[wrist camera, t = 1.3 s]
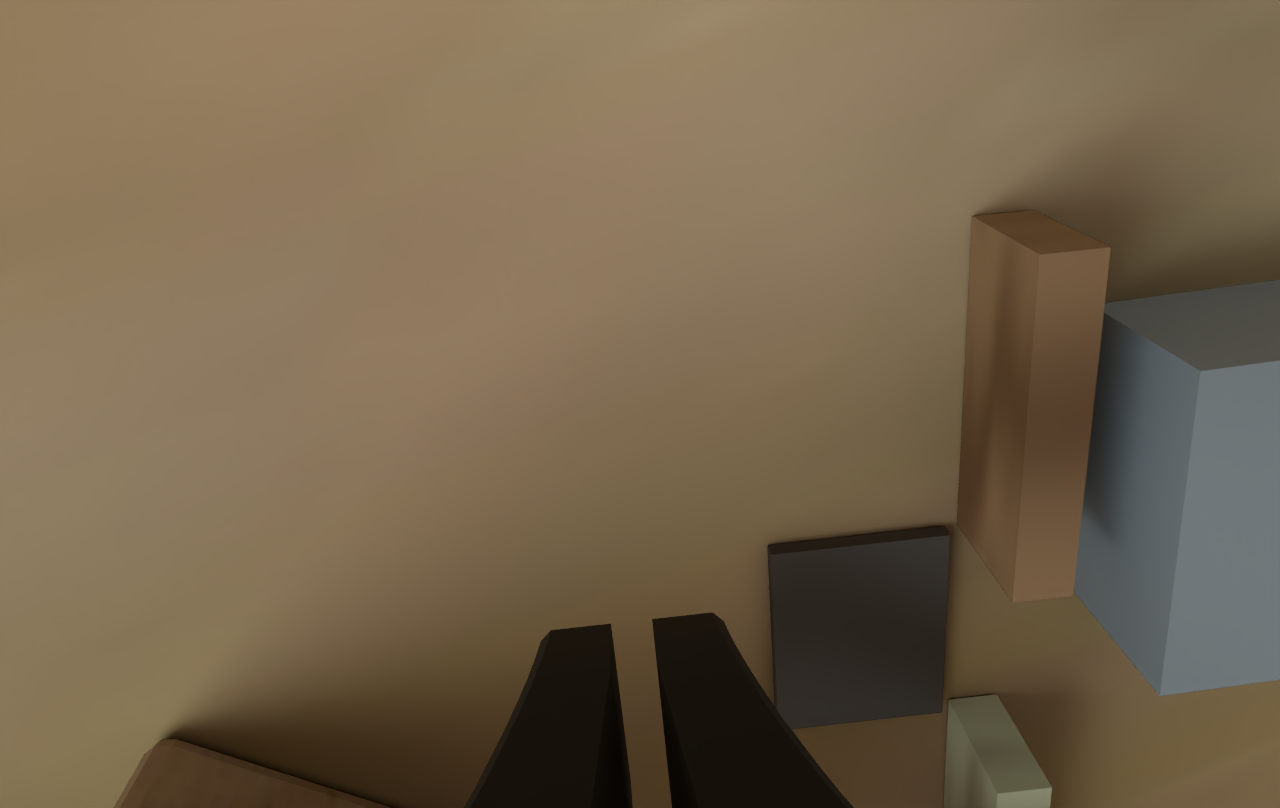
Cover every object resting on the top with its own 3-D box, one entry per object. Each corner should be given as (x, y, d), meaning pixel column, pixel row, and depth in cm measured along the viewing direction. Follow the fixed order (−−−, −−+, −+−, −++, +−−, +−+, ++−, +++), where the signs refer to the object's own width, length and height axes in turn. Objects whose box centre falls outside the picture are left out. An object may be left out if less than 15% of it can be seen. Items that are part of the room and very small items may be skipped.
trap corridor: (1578, 800, 26) (1697, 896, 23) (782, 892, 26) (807, 1000, 23) (1853, 123, 19) (2071, 146, 16) (753, 238, 18) (783, 281, 16)
